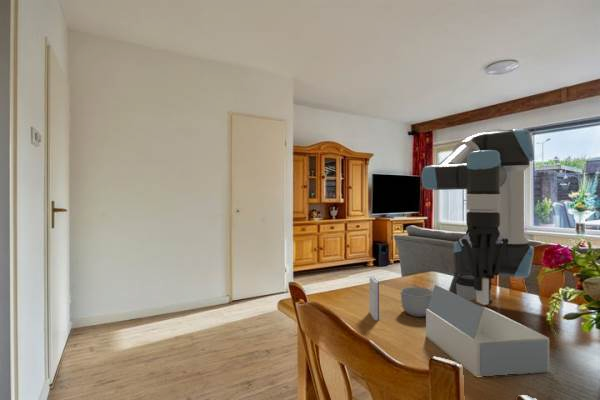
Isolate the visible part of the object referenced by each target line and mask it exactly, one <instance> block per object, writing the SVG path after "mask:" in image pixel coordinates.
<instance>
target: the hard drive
mask: <svg viewBox="0 0 600 400" xmlns="http://www.w3.org/2000/svg"><path fill="white" fill-rule="evenodd" d="M369 313H370V315H371V317H372V318H373V320H374V321H380V282H379V280H377V279H376V278H375V276H369Z"/></svg>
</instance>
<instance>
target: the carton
mask: <svg viewBox="0 0 600 400" xmlns="http://www.w3.org/2000/svg"><path fill="white" fill-rule="evenodd" d="M482 308H484V309H483V312H482V315H481V319H480V322H479V325H478V329H477V332H476V335H475V339H473V338H471V337H470V336H468V335H467V334H465V333H464V332H462V331H461V330H459V329H458V328H456V327H454V326H453V325H451V324H450V323H448V322H447V321H445V320H444V319H442V318H441V317H439V316H438V315H436V314H435V313H433V312H432V311H430V310H429V309H426V316H425V337H426V338H427V339H428V340H430V342H431V343H433V344H434V345H435V346H437V347H438V348H439V349H440V350H442V351H443V352H444V353H445V354H446V355H448V356H449V357H450V358H451V359H452V360H453V361H454V362H456V363H457V362H458V363H457V364H459V363H460V364H462V366H463V367H462V366H461V367H462V368H463V369H465V370H466V369H467V370H468V371H470V372H471V373H472V374H474V375H475V376H492V375H505V376H508V375H507V374H517V375H526V373H527V374H528V373H530V374H538V373H540V374H541V373H549V372H550V338H549V337H548V336H547V335H544V334H543V333H540V332H539V331H536V330H534V329H532V328H530V327H528V326H525V325H524V324H521V323H520V322H517V321H515V320H514V319H511V318H509V317H508V316H505V315H503V314H501V313H499V312H497V311H495V310H492V309H491V308H487V307H486V306H483V307H482ZM460 364H459V365H460ZM467 370H466V371H467ZM468 371H467V372H468ZM470 372H469V373H470ZM471 373H470V374H471ZM472 374H471V375H472ZM528 375H529V374H528Z"/></svg>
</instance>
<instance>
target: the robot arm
mask: <svg viewBox="0 0 600 400" xmlns="http://www.w3.org/2000/svg"><path fill="white" fill-rule="evenodd" d="M534 152H535V151H534V145H533V140H532V134H531V131H530V130H529V129H526V128H512V129H505V130H496V131H489V132H480V133H477V134H476V133H475V134H473V135H470V136H468V137H466V138H463V139H462V140H461V141H459V142H458V143H456V145H455V146H454V147H453V149H452V152H451V153H450V154H449V155H447V156H446V157H445V158H444V159H443V160H441V162H439V163H438V164H436V165H435V164H432V165H426V166H424V167H423V168H422V171H421V175H420V176H421V177H420V178H421V185H422V187H423V188H424V189H425V190H430V191H431V190H433V191H440V190H441V191H445V190H447V191H448V190H449V191H451V190H466V210H469V211H467V212H466V221H465V222H466V223H465V224H466V226H467V228H466V232H465V235H464V236H463V237H458V238H456V239H457V241H454V244H453V252H452V253H453V277H452V279H451V283H450V286H449V288H448V291H450V292H452V293H454V294H456V295H457V287H456V278H457V275H458V274H469V275H472V276H473V277H474V289H475V290H476V301H477V302H479V303H481V304H483V306H485V305H489V304H490V302H491V301H492V293H491V290H492V280H494V279H495V277H496V276H503V277H504V276H507V277H513V278H522V279H525V278H528V277H529V276H530V274H531V270H532V264H533V261H534V253H535V247H534V246H532V245H530V240H529V239H528V238H526V236H525V170H527V169H528V167H530V162H532V161H534V160H535V153H534Z"/></svg>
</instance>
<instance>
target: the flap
mask: <svg viewBox="0 0 600 400" xmlns="http://www.w3.org/2000/svg"><path fill="white" fill-rule="evenodd" d="M432 291H433V292H432V296H431V299H430V302H429V306H428V309H429V310H430V311H432V312H433V313H435V314H436V315H438V316H439V317H441V318H442V319H444V320H445V321H447V322H448V323H450V324H451V325H453V326H454V327H456V328H458V329H459V330H461V331H462V332H464V333H465V334H467V335H468V336H470V337H471V338H473V339H475V335H476V332H477V329H478V325H479V322H480V319H481V315H482V312H483V309H484V308H482V307H480V306H478V305H476V304H474V303H472V302H470V301H468V300H466V299H464V298H462V297H460V296H458V295H456V294H454V293H452V292H450V291H449V289H448V290H447V289H446V288H444V287H441V286H439V285H437V284H434V287H433V290H432Z"/></svg>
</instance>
